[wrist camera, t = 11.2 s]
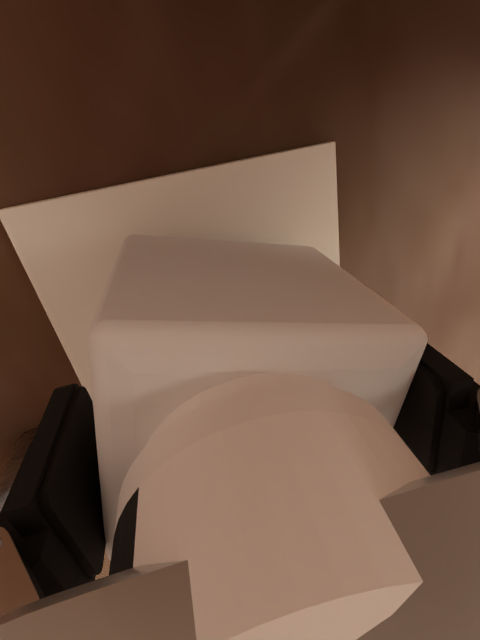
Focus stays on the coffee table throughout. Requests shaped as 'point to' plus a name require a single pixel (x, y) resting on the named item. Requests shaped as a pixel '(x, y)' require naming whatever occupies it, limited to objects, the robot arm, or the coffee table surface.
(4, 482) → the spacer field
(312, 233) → the pad
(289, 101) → the coffee table surface
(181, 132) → the coffee table surface
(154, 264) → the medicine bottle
